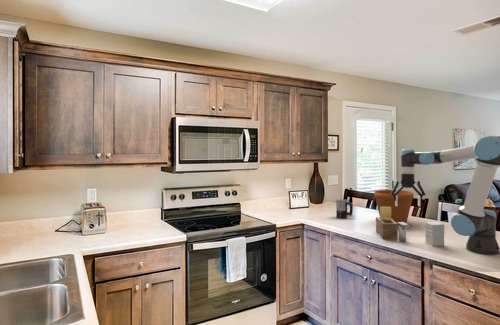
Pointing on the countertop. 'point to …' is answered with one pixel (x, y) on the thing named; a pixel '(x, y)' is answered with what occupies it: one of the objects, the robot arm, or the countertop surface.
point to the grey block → (402, 231)
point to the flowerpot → (387, 200)
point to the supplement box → (434, 233)
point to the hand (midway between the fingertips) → (407, 206)
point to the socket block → (387, 228)
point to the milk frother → (343, 208)
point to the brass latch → (385, 213)
